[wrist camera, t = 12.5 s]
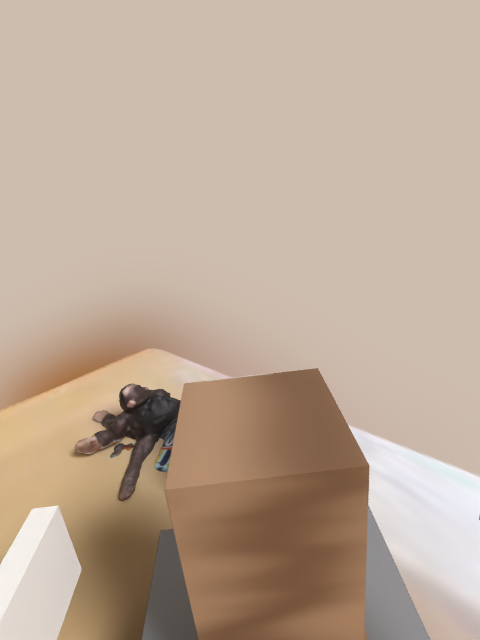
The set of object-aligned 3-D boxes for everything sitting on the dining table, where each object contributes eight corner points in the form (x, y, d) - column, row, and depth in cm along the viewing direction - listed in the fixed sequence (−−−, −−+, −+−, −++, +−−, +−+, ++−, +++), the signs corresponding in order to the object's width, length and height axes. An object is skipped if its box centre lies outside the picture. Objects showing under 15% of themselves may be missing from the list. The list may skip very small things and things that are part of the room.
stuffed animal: (162, 380, 46) (191, 356, 36) (191, 455, 44) (230, 453, 34) (62, 418, 40) (63, 402, 30) (91, 507, 38) (103, 522, 28)
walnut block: (219, 731, 13) (164, 489, 9) (219, 583, 17) (183, 383, 13) (361, 714, 13) (369, 465, 9) (323, 571, 17) (317, 368, 13)
